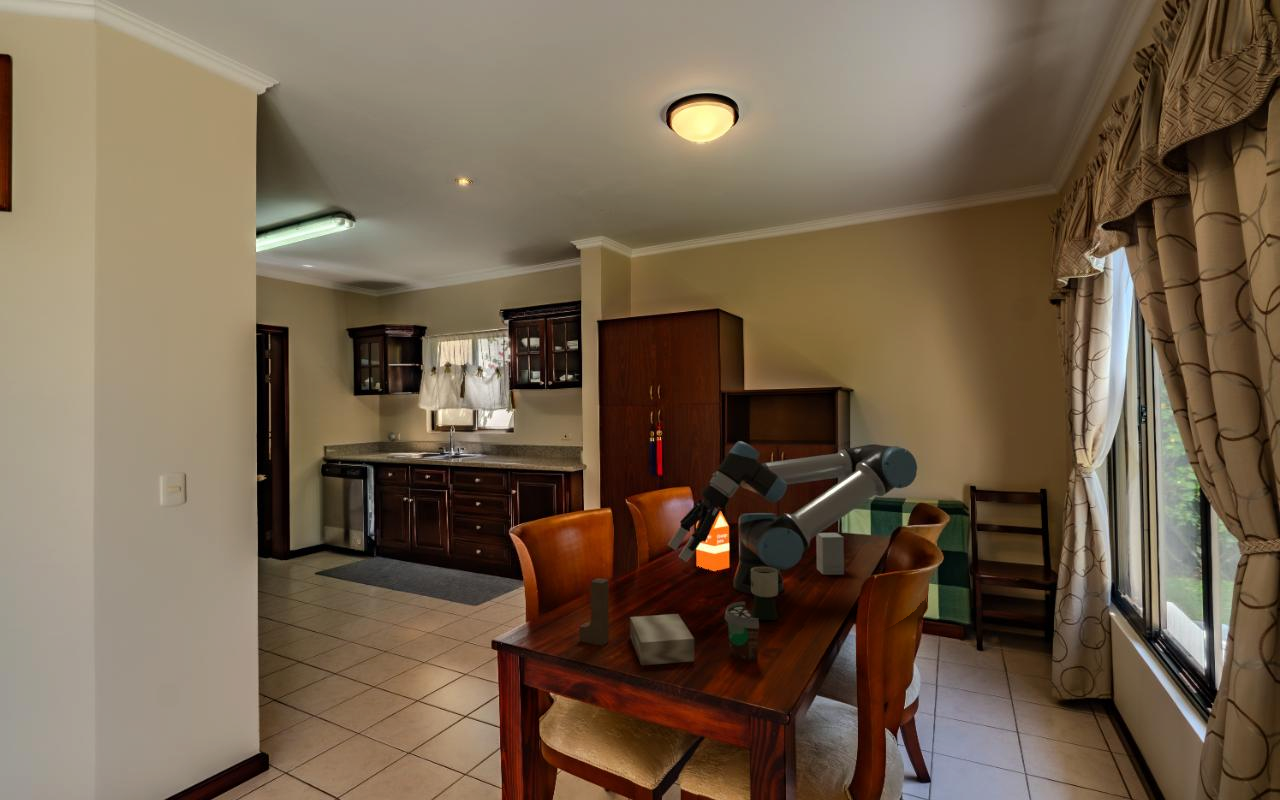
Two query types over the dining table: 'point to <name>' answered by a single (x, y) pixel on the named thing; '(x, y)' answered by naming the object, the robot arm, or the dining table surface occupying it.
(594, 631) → the wooden block
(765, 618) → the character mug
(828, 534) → the supplement box
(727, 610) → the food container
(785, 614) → the dining table surface
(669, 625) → the birch block
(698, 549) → the orange juice
